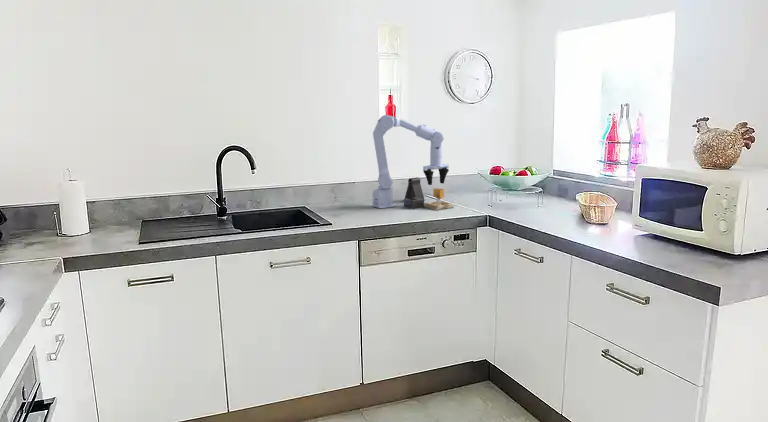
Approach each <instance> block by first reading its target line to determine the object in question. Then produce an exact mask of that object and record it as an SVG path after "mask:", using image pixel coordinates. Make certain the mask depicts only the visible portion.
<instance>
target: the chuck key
mask: <svg viewBox="0 0 768 422" xmlns="http://www.w3.org/2000/svg"><path fill="white" fill-rule="evenodd" d="M432 190H433V192H432V193H433V195H432V196H433V198H435V199H436V201H435V202H436V206H440V205H441V201H442V199H443V198H445V188H440V187H435V188H433V189H432Z"/></svg>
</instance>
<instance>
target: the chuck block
mask: <svg viewBox="0 0 768 422" xmlns="http://www.w3.org/2000/svg"><path fill="white" fill-rule="evenodd" d="M424 200H425V198H424V199H420V198H416V197H415V198H407V199H403V208H405V209H409V210H416V209H423V208H425V207H424V203H425V201H424Z"/></svg>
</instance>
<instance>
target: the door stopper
mask: <svg viewBox="0 0 768 422" xmlns="http://www.w3.org/2000/svg"><path fill="white" fill-rule="evenodd" d="M407 182H408V184H407V188H406V192H405V195H404V199H407V198H415V197H416V198H420V199H424V202H426V201H425V196H424V192H423V189H422V185H421V178H420V177H417V176H416V177H411V178H410V177H409V179H408V181H407ZM404 199H403V200H404Z"/></svg>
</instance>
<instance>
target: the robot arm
mask: <svg viewBox="0 0 768 422" xmlns="http://www.w3.org/2000/svg"><path fill="white" fill-rule="evenodd" d="M394 127H395V128H397V127H402V128H404V129H406V130H409V131H412V132H414V133H415V135H416V137H418V138H421V139H424V140H426V141H428V142H429V141H430V148H429V151H430V153H429V155H430V156H429V157H430V161H429V162H430V163H429V164H430V165H425V166H424V165H423V166H422V167H423V168H422V170H423V174H424V175H425V178H426V182H427V185H428V186H432V185H433V177H434V173H435V171H433V170H438V173H439V184H443V185H444V183H445V180H446V176H447V174H448V173H449V167H450V165H449V164H448V163H444V164H443V141H444V135H443V134H442V133H441V132H439V131H437V130H436V129H435V128H433V129H432V128H431V127H428V126H427V125H426V124H418V125H416V124H413V123H412V122H410V121H407V120H404V119H403V118H400V117H396V116H393V115H389V114H384V115H382V116H381V117H380V118H379V119H378V120H377V123H376V124H375V127H374V130H373V132H372V137H373V142H374V149H375V155H376V160H377V168H378V179H377V182H378V184H379V185H378V187H377V189H374V190H373V192H372V206H371V207H375V208H378V209H386V208H393V207H397V204H394V202H393V201H394V199H393V198H394V191H393V189H394V188H393V183H394V181H393V178H392V177H391V175H390V170H389V165H388V161H387V159H388V158H387V152H386V148H385V140H384V135H386V133H387V132H388V131H389V130H391V129H392V128H394Z"/></svg>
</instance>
